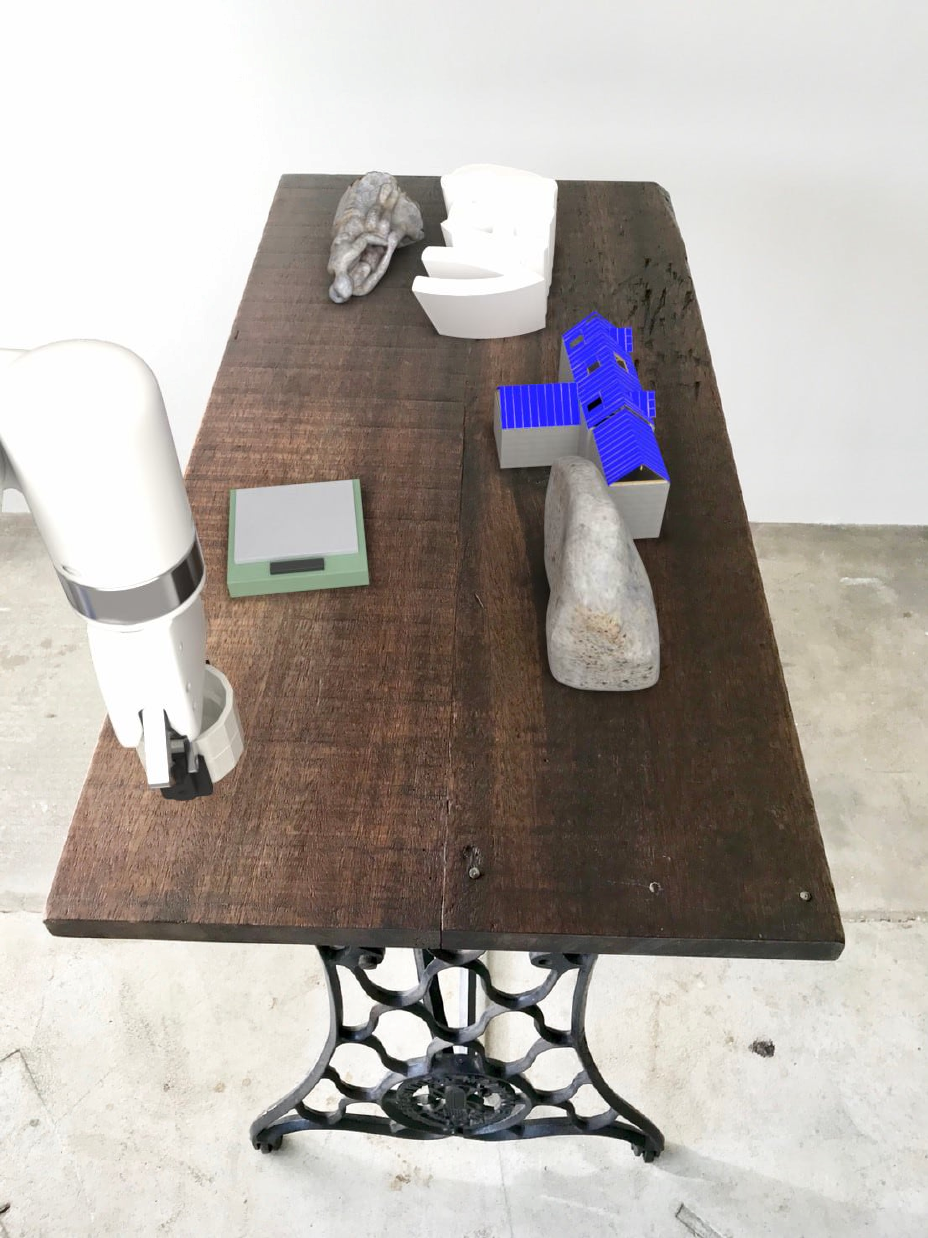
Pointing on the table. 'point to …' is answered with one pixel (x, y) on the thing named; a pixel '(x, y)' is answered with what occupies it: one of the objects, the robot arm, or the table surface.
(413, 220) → the sculpture
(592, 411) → the house model
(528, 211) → the wavy white extrusion
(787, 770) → the table surface
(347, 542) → the scale
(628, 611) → the decorative stone
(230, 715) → the white cup
